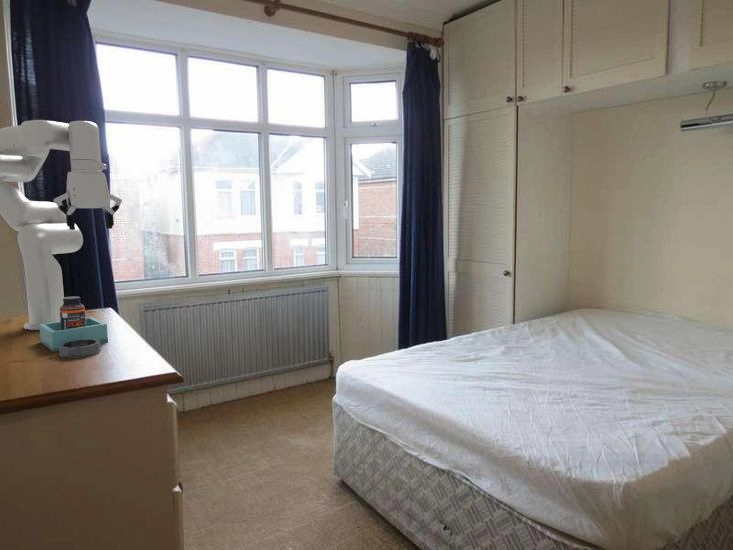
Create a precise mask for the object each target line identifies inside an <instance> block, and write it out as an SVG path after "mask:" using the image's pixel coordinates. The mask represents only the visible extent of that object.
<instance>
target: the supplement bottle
mask: <svg viewBox="0 0 733 550" xmlns="http://www.w3.org/2000/svg"><path fill="white" fill-rule="evenodd" d="M63 303H64V304H63V305H62V306H61V307H60V323H61V330H66V329H72V328H79V327H86V319H85V318H86V307H85V305H84V304H82V303H81V297H80V296H76V295H74V296H72V295H71V296H64V298H63Z"/></svg>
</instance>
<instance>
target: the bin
mask: <svg viewBox="0 0 733 550" xmlns="http://www.w3.org/2000/svg"><path fill="white" fill-rule="evenodd" d="M85 319H86V327H79V328H72V329H66V330H61V323H60V322H53V323H46V324H39V326H40V330H39V334H40V335H39V336H40V343H41V344H42V345H44V346H45V347H47V348H48V349H49V350H50V351H52V352H59V345H60V344H62V343H65V342H68V341H73V340H79V339H98V340H99V341H100V344H105V343H109V337H108V335H109V334H108V324H107V323H105V322H103V321H101V320H98V319H97V318H95V317H93V316H90V317H85Z"/></svg>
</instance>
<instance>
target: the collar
mask: <svg viewBox="0 0 733 550" xmlns="http://www.w3.org/2000/svg"><path fill="white" fill-rule="evenodd" d="M101 344H102V343H100V341H99V340H98V339H79V340H73V341H68V342H65V343H62V344H60V345H59V351H58V354H59V355H58V356H59V357H60V358H62V359H80V358H86V357H91V356H94V355H97V354H99V353H100V352H101V351H102V348H101V346H102V345H101Z"/></svg>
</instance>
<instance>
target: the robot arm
mask: <svg viewBox="0 0 733 550" xmlns="http://www.w3.org/2000/svg"><path fill="white" fill-rule="evenodd" d="M100 141H101V140H100V128H99V126H98V125H97V124H96V123H94V122H93V121H87V120H75V121H70V122H69V123H66V122H60V121H59V122H58V121H54V120H48V119H47V120H45V119H32V120H25V121H23V122H22V123H21V124H20V125H13V126H12V125H11V126H6V127H5V126H4V127H2V128H0V152H1V153H3V154H0V215H1V217H2V218H3V219H4V220H5V222H6V223H7V224H8V225H9V226H10V227H11V228H12V229H13V230H14V231H17V232H18V233H17V243H18V246H19V250H20V253H21V255H22V260H23V267H24V275H25V286H26V287H25V288H26V295H27V308H28V318H29V322H26V323H24V324H23V328H24V329H25V330H27V329H28V330H29V331H40V326H39V324H46V323H53V322H60V307H61V306H62V305H63V304H64V303H63V298H65V295H64V284H63V282H64V281H63V273H62V272H63V270H62V267H61V265H60V263H59V262H58V260H57V259H56V258H55V257H54V256H53V255H57V254H59V255H60V254H70V253H75V252H77V251H79V250H80V249H81V248H82V246H83V243H84V238H83V234H82V231H81V230H80V228H79V227H78V225H77V224H76V222H75V221H76V220H75V215H74V212H75V210H76V209H102V210H103V211H104V212H105V213H106V215H105V217H104V218H105V227H106V229H111V230H112V229H113V226H114V224H115V223H114V222H115V221H114V215H115V213H116V212H117V211H118V210H119V209H120V207H121V204H122V203H123V199H122V198H119V197H117V196H115V195H114V194H112V193H110V190H109V186H108V181H107V177H106V174H105V173H104V172H103V170H107V169H108V164H105V163H103V161H102V155H101V142H100ZM50 150H57V151H58V150H59V151H66V152H69V156H70V157H69V158H70V160H69V161H70V170H71V171H68V172H67V174H66V175H67V178H66V192H65V193H64V194H61V195H60V196H57V197H55V198H54V199H53V202H51V201H41V200H39V201H37V200H30V199H28V198H27V197H26V196H25V195H24V194H23V193H22V191H20V190H19V189H18V188H17V187H15V186H13V185H12V184H10V183H29V182H31V181H33V180H34V179H35V178H36V176H37V175H38V173H39V172H40V170H41V168H42V166H43V164H44V163H45V161H46V159H47V158H48V156H49V153H50ZM64 200H66V205H67V206H68V207H66V206H65V205H64V204H63V203H62V202H63V201H64ZM111 201H113V202H114V203H113V206H112V207H111V205H110V204H111Z"/></svg>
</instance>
